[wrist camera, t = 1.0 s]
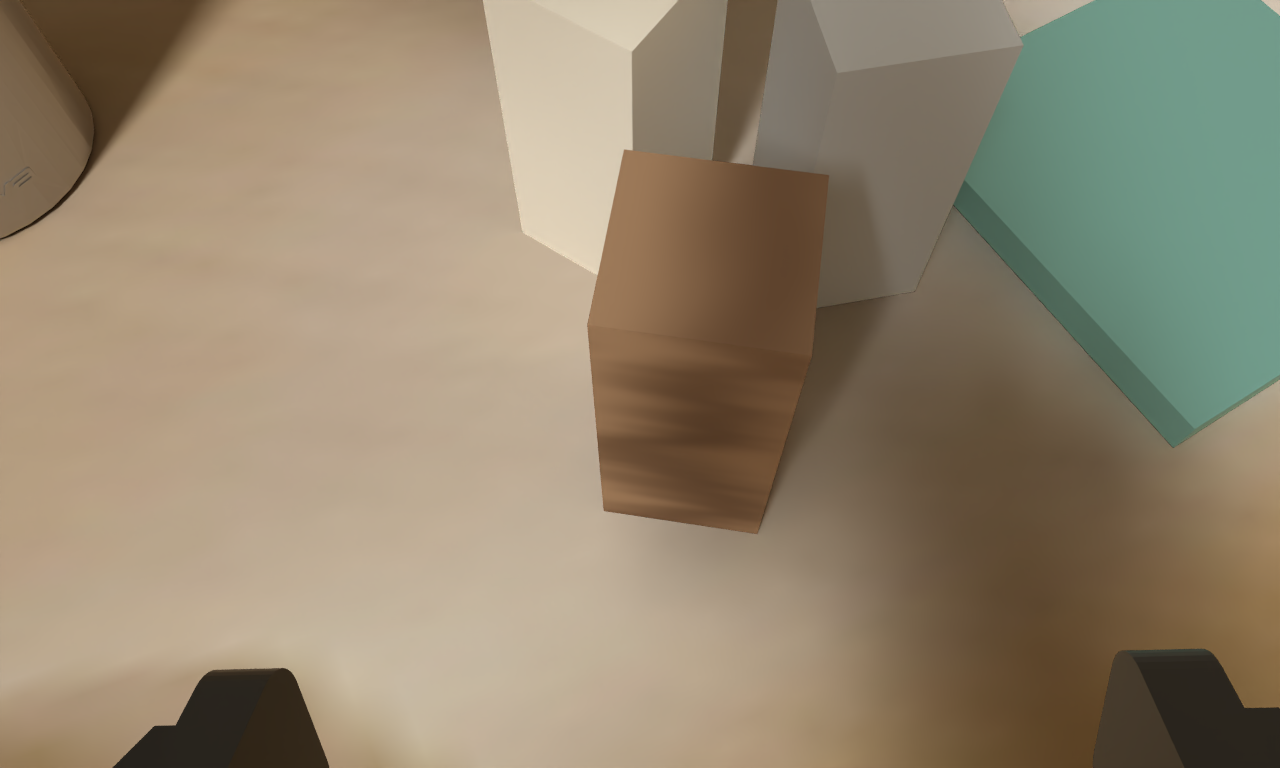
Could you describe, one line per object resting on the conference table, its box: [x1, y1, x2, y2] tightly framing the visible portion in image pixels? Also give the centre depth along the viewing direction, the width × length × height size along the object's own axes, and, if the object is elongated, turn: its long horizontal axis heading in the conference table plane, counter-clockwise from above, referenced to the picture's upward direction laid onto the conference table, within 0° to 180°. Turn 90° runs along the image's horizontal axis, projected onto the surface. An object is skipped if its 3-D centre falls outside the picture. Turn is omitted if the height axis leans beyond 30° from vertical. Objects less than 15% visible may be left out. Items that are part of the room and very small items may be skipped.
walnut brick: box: [587, 149, 829, 534], centre depth 30 cm, size 5×5×12 cm
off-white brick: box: [483, 0, 728, 276], centre depth 34 cm, size 5×5×12 cm
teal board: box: [953, 0, 1280, 448], centre depth 39 cm, size 16×16×2 cm
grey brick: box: [753, 0, 1024, 308], centre depth 33 cm, size 5×5×12 cm
